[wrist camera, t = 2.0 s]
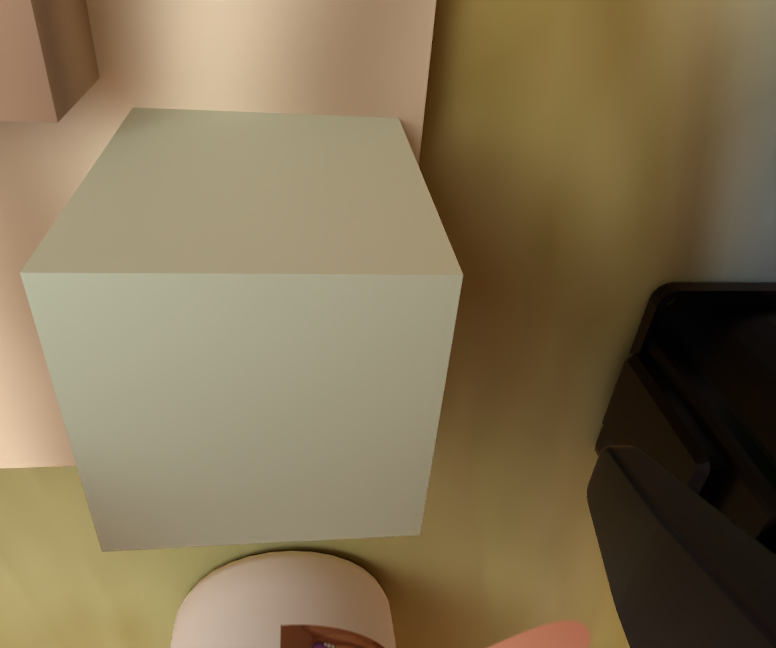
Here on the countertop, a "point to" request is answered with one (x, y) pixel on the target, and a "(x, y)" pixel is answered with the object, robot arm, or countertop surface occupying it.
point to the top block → (249, 329)
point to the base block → (44, 58)
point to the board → (191, 92)
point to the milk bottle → (285, 605)
